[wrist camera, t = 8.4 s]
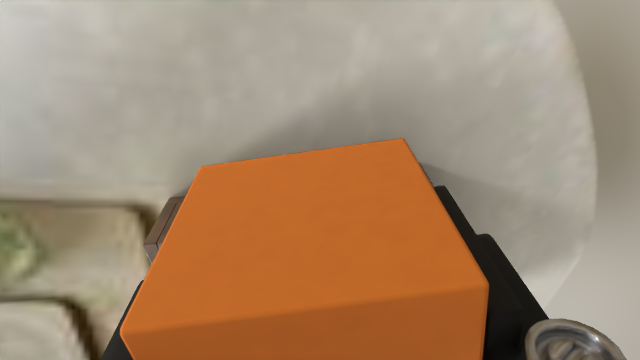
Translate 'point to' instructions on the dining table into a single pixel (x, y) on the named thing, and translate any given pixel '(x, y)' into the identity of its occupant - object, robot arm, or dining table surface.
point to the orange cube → (312, 265)
